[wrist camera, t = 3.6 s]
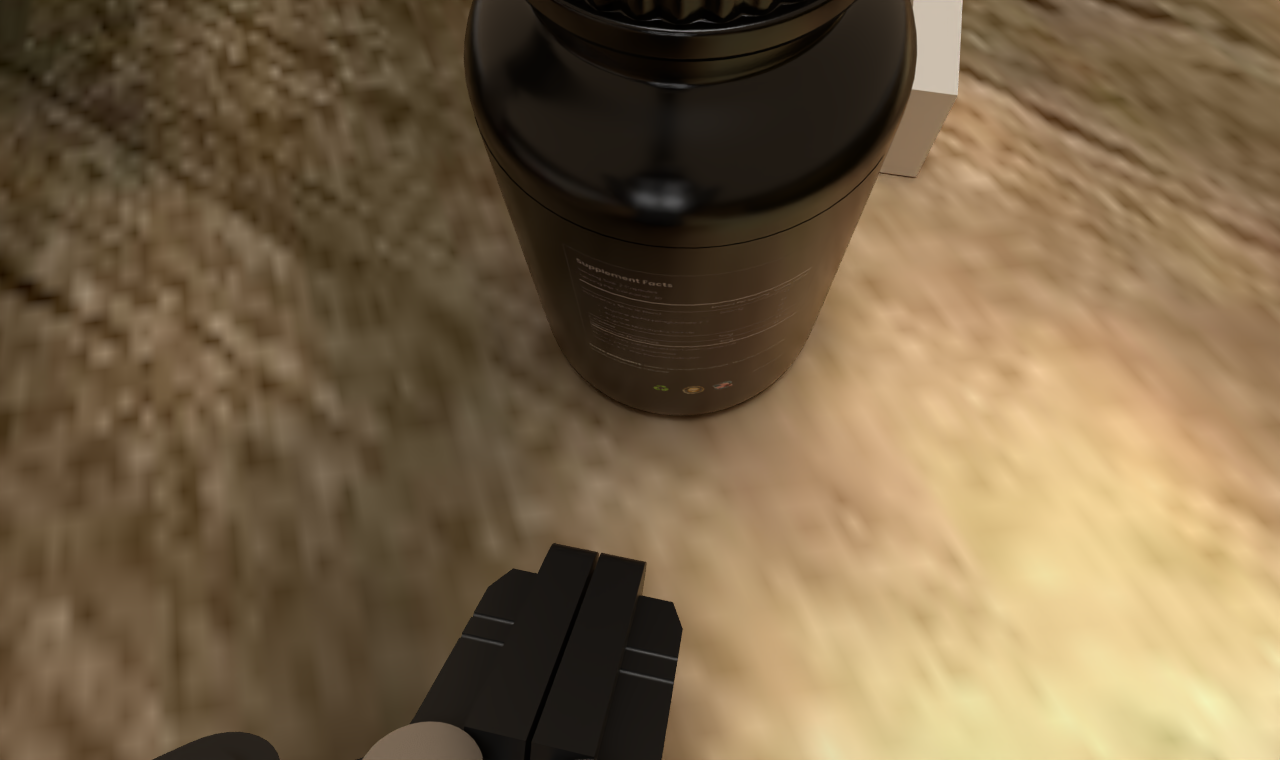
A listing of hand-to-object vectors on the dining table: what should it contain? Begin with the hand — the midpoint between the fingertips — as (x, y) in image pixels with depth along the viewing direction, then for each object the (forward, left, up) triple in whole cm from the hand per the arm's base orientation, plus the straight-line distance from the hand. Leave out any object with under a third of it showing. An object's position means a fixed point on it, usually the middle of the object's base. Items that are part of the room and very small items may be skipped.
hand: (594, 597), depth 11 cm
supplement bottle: (0, +8, -5) cm, 9 cm away
